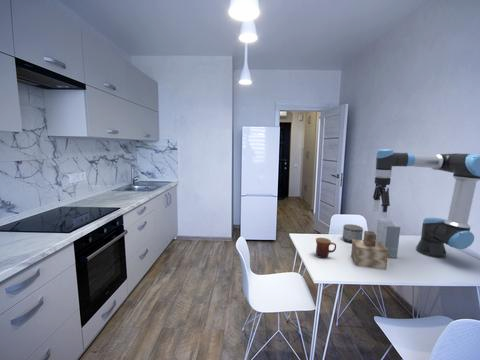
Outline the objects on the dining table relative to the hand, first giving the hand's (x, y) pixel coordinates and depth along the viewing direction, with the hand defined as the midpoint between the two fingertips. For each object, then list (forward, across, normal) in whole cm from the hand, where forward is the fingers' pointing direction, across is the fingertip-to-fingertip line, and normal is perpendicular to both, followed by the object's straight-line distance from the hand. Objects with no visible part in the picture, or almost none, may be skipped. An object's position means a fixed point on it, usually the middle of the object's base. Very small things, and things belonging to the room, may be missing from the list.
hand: (379, 214), depth 134 cm
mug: (+29, 0, -28) cm, 41 cm away
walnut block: (+18, 0, -4) cm, 19 cm away
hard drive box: (+30, -18, +11) cm, 37 cm away
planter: (+30, -33, -6) cm, 45 cm away
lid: (+19, 0, -4) cm, 20 cm away
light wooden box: (+30, 0, -4) cm, 30 cm away
